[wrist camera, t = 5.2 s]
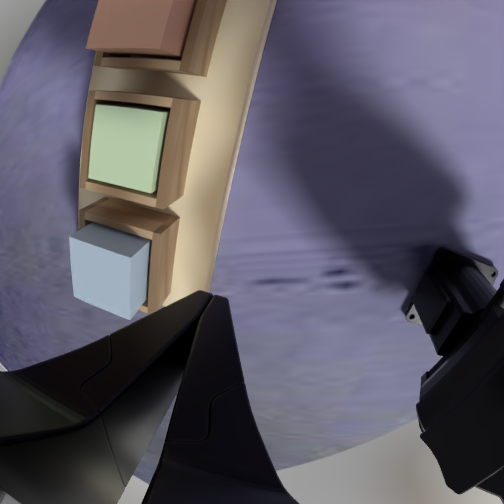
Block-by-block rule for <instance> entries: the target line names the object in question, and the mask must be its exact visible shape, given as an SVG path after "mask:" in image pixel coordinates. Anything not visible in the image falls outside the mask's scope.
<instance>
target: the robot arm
mask: <svg viewBox="0 0 504 504" xmlns="http://www.w3.org/2000/svg"><path fill="white" fill-rule="evenodd" d="M444 252H445V255H444V256H441V254H442V253H444ZM492 272H493V274H492ZM491 274H492V275H491ZM497 275H498V270H497V269H496V268H495V267H494V266H491V265H489V264H486V263H484V262H482V261H479V260H477V259H474V258H472V257H469V256H467V255H464V254H462V253H459V252H456V251H454V250H451V249H449V248H446V247H440V248H439V249H438V250H437V252H436V254H435V257H434V259H433V261H432V263H431V265H430V267H429V269H428V271H427V272H426V273H425V274H424V276H423V278H422V280H421V282H420V284H419V286H418V288H417V290H416V292H415V294H414V296H413V298H412V302H411V304H410V306H409V308H408V310H407V311H406V313H405V317H406V319H407V321H409V322H412V323H416V324H420V325H423V327H424V329H425V332H426V333H427V334H429V335H430V337H431V340H432V342H433V345H434V347H435V350H436V352H437V354H438V355H440V356H443V357H442V358H441V359H440V360H439V361H438V363H437V364H436V365H435V366H434V367H433V368H432V369H431V370H430V371H429V372H426V373H425V374H424V375H423V376H422V377H421V389H420V401H419V402H418V403H417V404H416V411H417V415H418V420H419V426H420V429H421V431H422V434H421V435H420V438H421V439H422V440H423V441H424V442H425V444H427V446H428V447H429V448H430V449H431V451H432V453H433V454H434V456H435V457H436V459H437V461H438V463H439V465H440V468H441V471H442V474H443V476H444V479H445V482H446V485H447V486H448V487H449V488H450V489H452V490H453V491H454V492H455V493H457V494H463V493H464V492H466V491H468V490H469V489H471V488H473V487H477V488H479V489H481V490H483V491H486V492H488V493H491V494H493V495H496V496H498V497H499V498H500V499H501V500H502V502H503V504H504V279H503V281H502V282H501V284H500V288H499V289H498V291H496V289H495V288H494V287H493V286H492V285H493V283H494V281H495V279H496V277H497ZM411 314H414V315H413V316H410V315H411ZM177 392H178V394H177ZM176 394H177V398H176V401H175V405H174V409H173V412H172V416H171V420H170V423H169V427H168V431H167V435H166V438H165V443H164V446H163V450H162V453H161V457H160V460H159V463H158V466H157V468H156V471H155V473H154V475H153V478H152V480H151V482H150V485H149V487H148V489H147V492H146V494H145V496H144V499H143V501H142V504H299V503H298V502H297V501H296V500H295V499H294V498H293V497H292V496H291V495H290V494H289V493H288V492H287V490H286V489H285V488H284V486H283V485H282V483H281V481H280V479H279V477H278V475H277V473H276V471H275V469H274V466H273V464H272V462H271V459H270V457H269V454H268V452H267V450H266V447H265V445H264V442H263V440H262V438H261V435H260V433H259V430H258V428H257V425H256V422H255V419H254V416H253V413H252V410H251V406H250V403H249V399H248V395H247V390H246V385H245V383H244V377H243V372H242V367H241V362H240V357H239V352H238V347H237V342H236V337H235V332H234V327H233V321H232V316H231V311H230V306H229V300H228V299H227V298H225V297H222V296H219V295H214V296H213V294H212V293H209V292H206V291H202V290H198V291H196V292H194V293H192V294H190V295H188V296H186V297H184V298H182V299H180V300H178V301H176V302H174V303H172V304H170V305H168V306H166V307H164V308H162V309H160V310H158V311H156V312H154V313H152V314H150V315H148V316H146V317H144V318H142V319H140V320H138V321H136V322H134V323H132V324H130V325H128V326H125V327H123V328H121V329H119V330H117V331H115V332H113V333H111V334H110V336H109V335H107V336H105V337H103V338H101V339H99V340H97V341H95V342H92V343H90V344H88V345H86V346H84V347H81V348H79V349H76V350H74V351H71V352H68V353H66V354H63V355H60V356H58V357H55V358H52V359H49V360H46V361H43V362H40V363H37V364H35V365H32V366H29V367H26V368H23V369H19V370H15V371H6V372H1V371H0V504H117V502H118V500H119V499H120V497H121V495H122V493H123V491H124V489H125V487H126V486H127V484H128V482H129V480H130V478H131V477H132V475H133V473H134V471H135V469H136V467H137V466H138V464H139V462H140V460H141V458H142V456H143V455H144V453H145V451H146V449H147V447H148V445H149V444H150V442H151V440H152V438H153V436H154V434H155V432H156V431H157V429H158V427H159V425H160V423H161V421H162V420H163V418H164V416H165V414H166V412H167V410H168V409H169V407H170V405H171V403H172V401H173V399H174V397H175V396H176Z"/></svg>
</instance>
